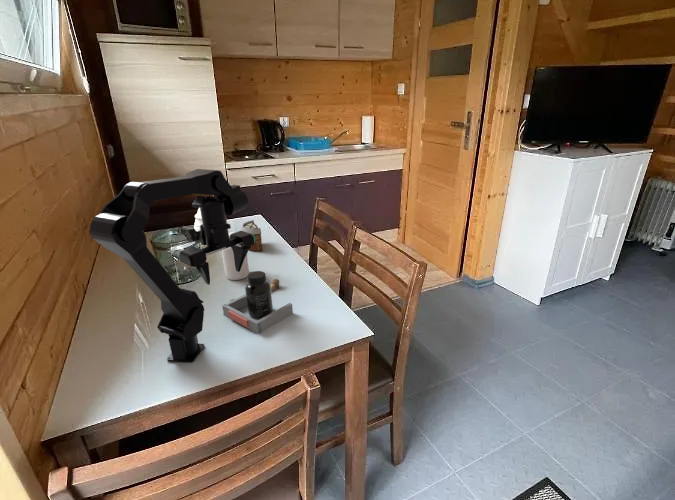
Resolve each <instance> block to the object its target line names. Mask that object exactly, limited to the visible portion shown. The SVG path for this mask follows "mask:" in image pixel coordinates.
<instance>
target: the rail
mask: <svg viewBox="0 0 675 500" xmlns="http://www.w3.org/2000/svg"><path fill="white" fill-rule="evenodd" d="M270 287H271V292H273V291H275V290H277V289H280V287H281V285H280V280H279V279H278V278H273V279H272V280H271V283H270ZM235 299H236V298H233V299H230V300H229V302H230V301H232V300H235Z"/></svg>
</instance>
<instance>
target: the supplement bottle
mask: <svg viewBox="0 0 675 500" xmlns="http://www.w3.org/2000/svg"><path fill="white" fill-rule="evenodd" d="M246 278H247V284H246V285H245V287H244V289H245V290H244V291H245V294H246V299H247V305H246V307H247V312H248V316H249V317H251V318H253V319H256V320H260V319H262V318H263V317H265V316H267V315H269V314H270V313H272V312H274V307H273V306H274V305H273V298H272V297H273V296H272V291H271V287H270V284H271V283H270V282H269V280H267V276H266V273H265V271H262V270H256V271H252V272H249V274H248V276H247V277H246Z"/></svg>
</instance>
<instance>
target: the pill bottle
mask: <svg viewBox="0 0 675 500" xmlns="http://www.w3.org/2000/svg"><path fill="white" fill-rule="evenodd" d="M235 232H236V231H231V232H228V233H229V236H230V235H231V234H232V233H235ZM229 239H230V238H229ZM221 256H222V261H223V267H224V268H223V269H224V274H225V278H226V279H228V280H231V281H238V280H239V281H240V280H243V279H245V278H248V277H247V276H248V274H249V273H250V270H249V269H250V267H249V262H248V261H249V259H248V254H247V255H246V257H245V259H244V262H243V264H242V267H241V270H240V272H237V271H236V268H235V261H234V254H233V250H232V248H231V247H229V248H226V249H223V250H221Z"/></svg>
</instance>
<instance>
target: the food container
mask: <svg viewBox="0 0 675 500" xmlns="http://www.w3.org/2000/svg"><path fill="white" fill-rule="evenodd" d="M241 231H244V232H247V233H250V234H252V235H253V236H254V240H255V244H254V245H251V249H249V250H248V252H252V253H253V252H254V253H260V252H263V242H262V230H261V227H258V225H257V224H256V223H255V220H253V219H252V220H248V221H245V222H243V224H242V225H241Z"/></svg>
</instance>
